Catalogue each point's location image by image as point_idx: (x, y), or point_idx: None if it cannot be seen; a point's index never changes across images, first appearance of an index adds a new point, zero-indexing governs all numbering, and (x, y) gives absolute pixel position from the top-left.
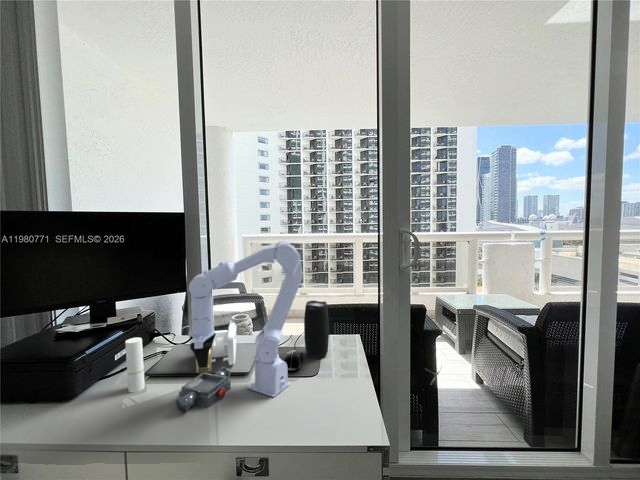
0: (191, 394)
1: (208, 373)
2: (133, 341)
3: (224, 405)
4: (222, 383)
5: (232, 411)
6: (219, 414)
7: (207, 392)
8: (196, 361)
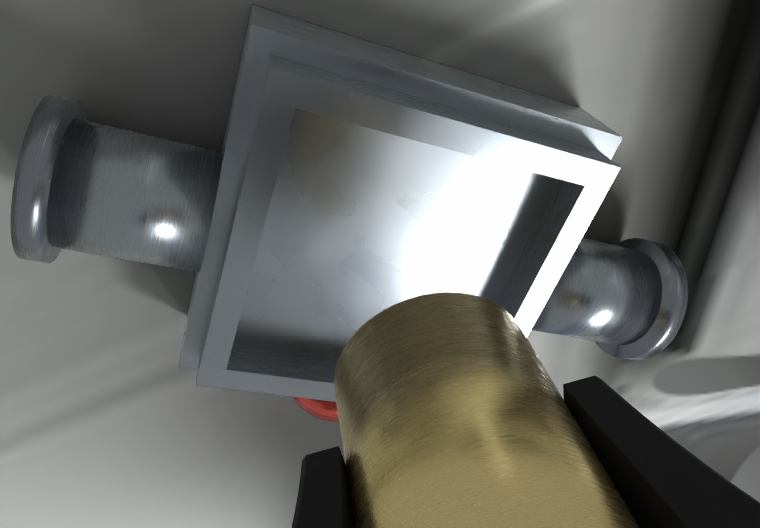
0: (151, 250)
1: (581, 233)
2: None
3: (233, 400)
4: None
5: (173, 464)
6: (120, 413)
7: (204, 380)
8: (396, 444)
